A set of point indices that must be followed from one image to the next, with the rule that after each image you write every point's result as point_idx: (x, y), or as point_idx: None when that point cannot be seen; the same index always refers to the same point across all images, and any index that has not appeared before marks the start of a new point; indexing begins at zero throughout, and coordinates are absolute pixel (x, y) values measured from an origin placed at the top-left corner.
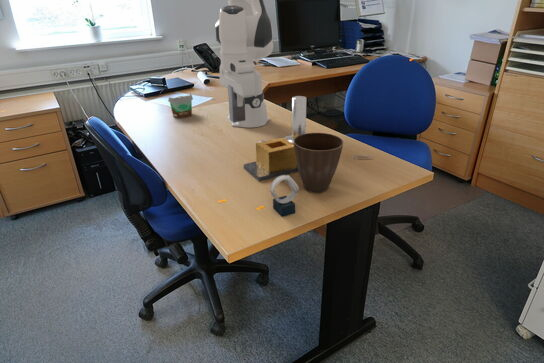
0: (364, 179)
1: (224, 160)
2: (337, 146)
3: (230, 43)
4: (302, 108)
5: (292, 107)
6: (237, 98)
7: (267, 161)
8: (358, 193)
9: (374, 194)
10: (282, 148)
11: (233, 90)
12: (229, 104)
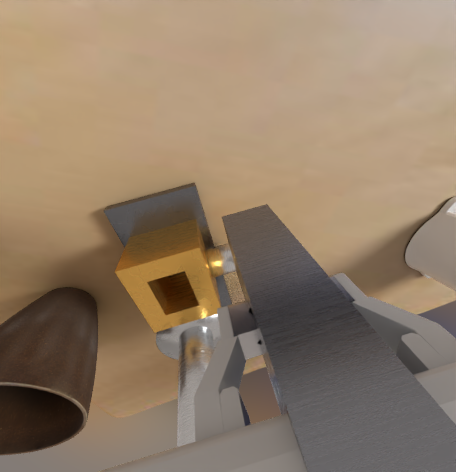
0: (105, 364)
1: (260, 137)
2: (52, 418)
3: None
4: None
5: None
6: (220, 368)
7: (131, 250)
8: None
9: None
10: (142, 304)
11: (273, 451)
12: (297, 256)
